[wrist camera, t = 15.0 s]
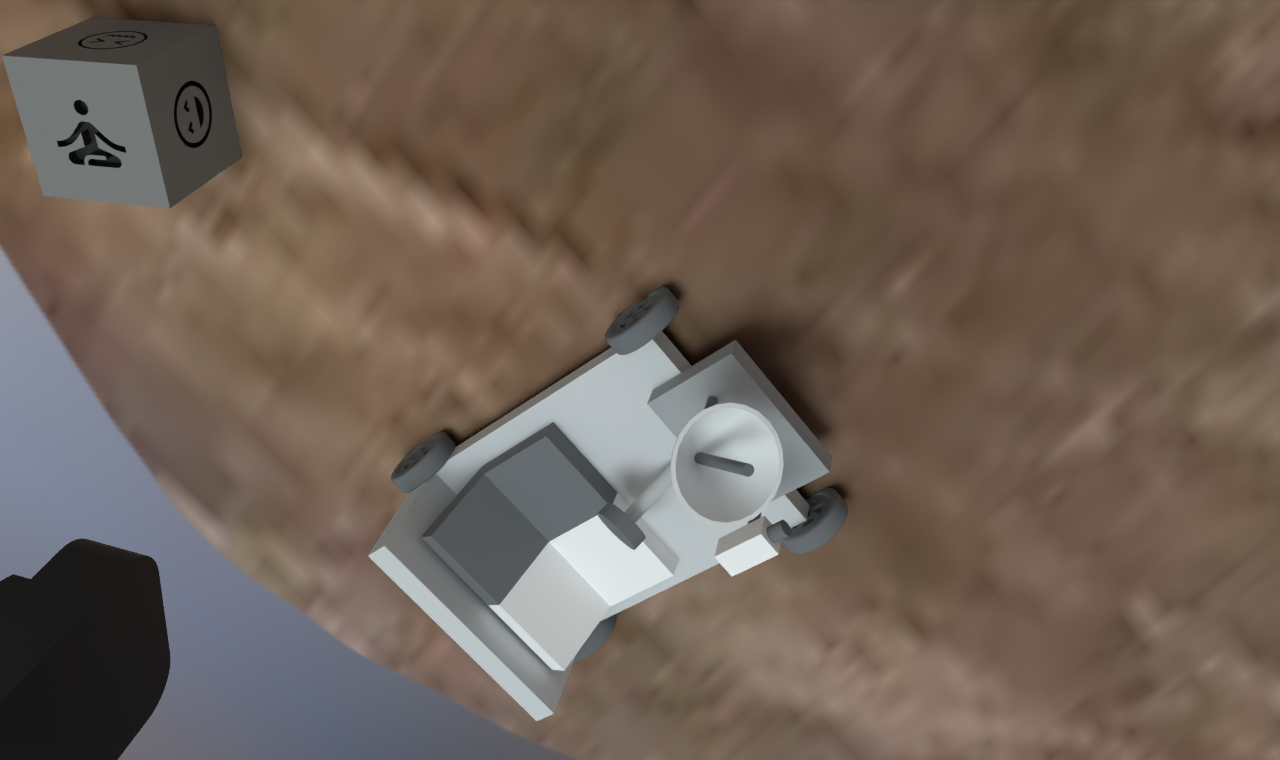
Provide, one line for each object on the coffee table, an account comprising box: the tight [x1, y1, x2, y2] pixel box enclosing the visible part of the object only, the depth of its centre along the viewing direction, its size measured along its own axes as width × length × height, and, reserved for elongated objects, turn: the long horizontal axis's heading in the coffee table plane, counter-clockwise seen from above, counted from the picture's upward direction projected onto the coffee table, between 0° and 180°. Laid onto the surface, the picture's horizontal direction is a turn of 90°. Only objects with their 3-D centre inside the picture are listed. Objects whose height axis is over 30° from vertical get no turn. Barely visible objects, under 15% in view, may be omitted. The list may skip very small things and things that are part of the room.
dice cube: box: [2, 17, 242, 208], centre depth 41 cm, size 5×5×5 cm
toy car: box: [368, 287, 848, 721], centre depth 44 cm, size 18×10×12 cm
